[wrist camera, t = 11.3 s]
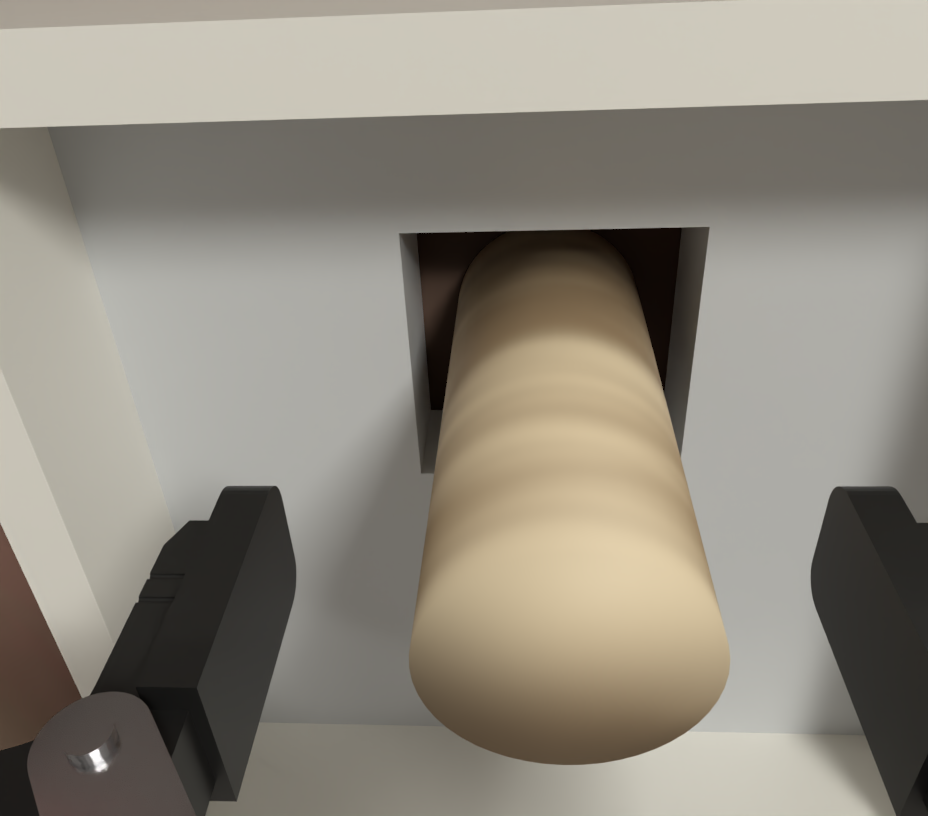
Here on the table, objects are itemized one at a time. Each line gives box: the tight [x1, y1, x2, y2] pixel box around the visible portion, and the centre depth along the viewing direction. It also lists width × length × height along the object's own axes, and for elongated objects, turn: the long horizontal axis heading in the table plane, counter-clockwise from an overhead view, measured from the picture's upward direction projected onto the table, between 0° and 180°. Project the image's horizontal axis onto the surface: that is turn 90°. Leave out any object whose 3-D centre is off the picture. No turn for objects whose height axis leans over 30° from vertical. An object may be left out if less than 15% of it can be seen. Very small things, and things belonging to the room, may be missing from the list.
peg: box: [409, 229, 730, 765], centre depth 15 cm, size 4×4×10 cm
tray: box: [0, 0, 928, 816], centre depth 18 cm, size 20×20×6 cm
